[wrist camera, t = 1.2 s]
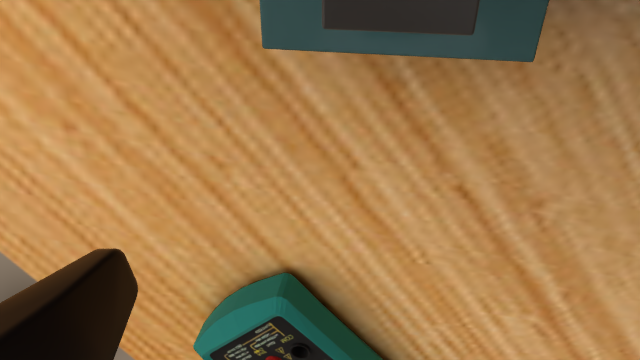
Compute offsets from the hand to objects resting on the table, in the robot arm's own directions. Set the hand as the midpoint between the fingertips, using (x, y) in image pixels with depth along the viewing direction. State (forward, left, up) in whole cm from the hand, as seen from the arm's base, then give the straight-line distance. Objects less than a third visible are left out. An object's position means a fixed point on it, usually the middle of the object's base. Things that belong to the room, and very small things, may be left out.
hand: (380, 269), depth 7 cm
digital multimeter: (+2, +19, -12) cm, 23 cm away
